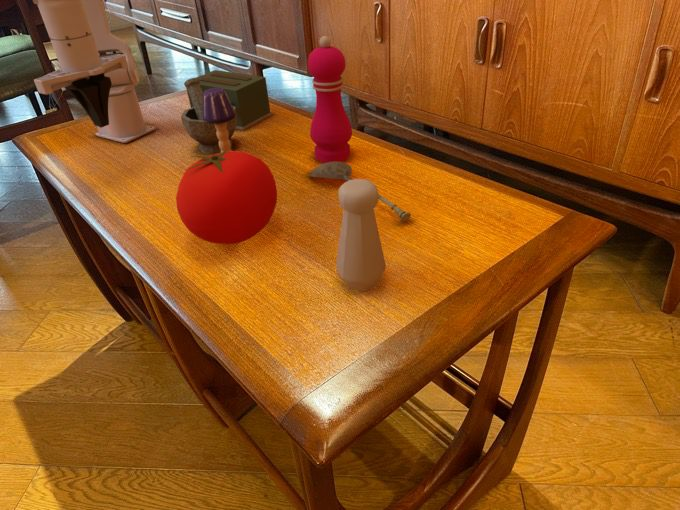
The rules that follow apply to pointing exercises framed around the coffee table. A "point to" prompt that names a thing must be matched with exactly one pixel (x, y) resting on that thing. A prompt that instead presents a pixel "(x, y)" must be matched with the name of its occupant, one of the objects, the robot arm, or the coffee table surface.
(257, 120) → the toaster
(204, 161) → the tomato
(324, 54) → the pepper mill
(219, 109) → the toy lamp
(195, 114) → the mortar and pestle
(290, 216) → the coffee table surface
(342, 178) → the soupspoon
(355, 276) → the salt shaker
